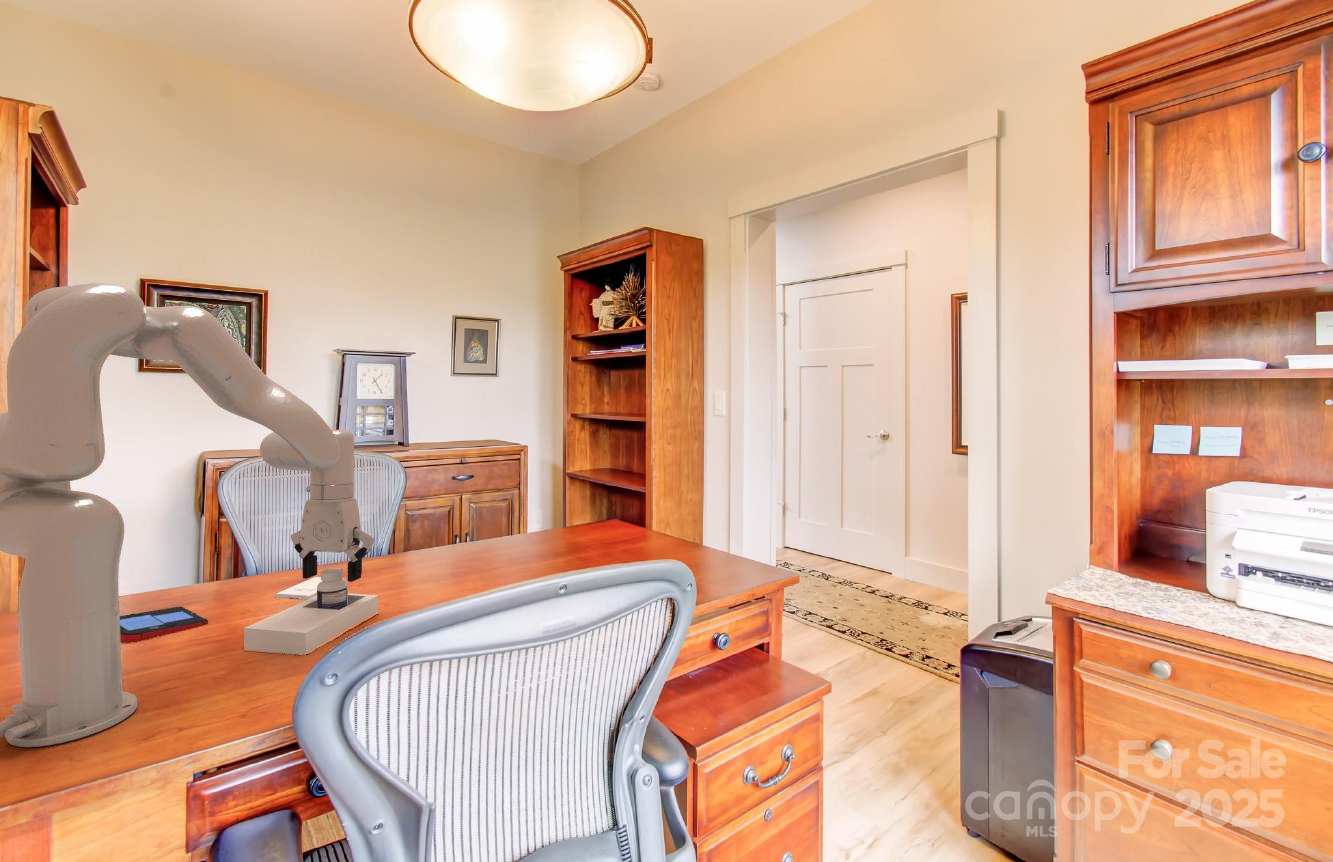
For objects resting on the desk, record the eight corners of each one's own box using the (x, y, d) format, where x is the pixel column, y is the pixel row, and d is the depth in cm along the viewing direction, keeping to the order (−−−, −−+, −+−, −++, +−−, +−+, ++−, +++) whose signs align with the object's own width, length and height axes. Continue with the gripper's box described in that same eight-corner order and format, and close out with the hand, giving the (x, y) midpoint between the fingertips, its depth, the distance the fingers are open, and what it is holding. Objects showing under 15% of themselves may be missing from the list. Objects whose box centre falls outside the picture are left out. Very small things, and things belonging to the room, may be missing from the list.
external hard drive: (345, 585, 143) (308, 602, 130) (314, 583, 144) (274, 600, 131) (345, 578, 143) (308, 595, 130) (313, 576, 144) (274, 592, 131)
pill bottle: (321, 615, 120) (320, 568, 119) (351, 613, 121) (350, 566, 121) (314, 625, 114) (313, 575, 114) (345, 622, 116) (344, 573, 116)
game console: (210, 626, 116) (209, 615, 116) (124, 648, 105) (124, 636, 105) (182, 610, 124) (182, 600, 124) (100, 629, 113) (100, 618, 113)
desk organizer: (305, 655, 102) (305, 632, 102) (244, 650, 104) (243, 628, 104) (378, 614, 122) (378, 595, 122) (325, 610, 124) (325, 591, 124)
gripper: (277, 493, 114) (277, 581, 115) (360, 497, 112) (359, 586, 112) (306, 488, 121) (306, 570, 122) (384, 491, 119) (384, 576, 120)
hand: (332, 578), depth 117 cm, fingers open, 9 cm apart
